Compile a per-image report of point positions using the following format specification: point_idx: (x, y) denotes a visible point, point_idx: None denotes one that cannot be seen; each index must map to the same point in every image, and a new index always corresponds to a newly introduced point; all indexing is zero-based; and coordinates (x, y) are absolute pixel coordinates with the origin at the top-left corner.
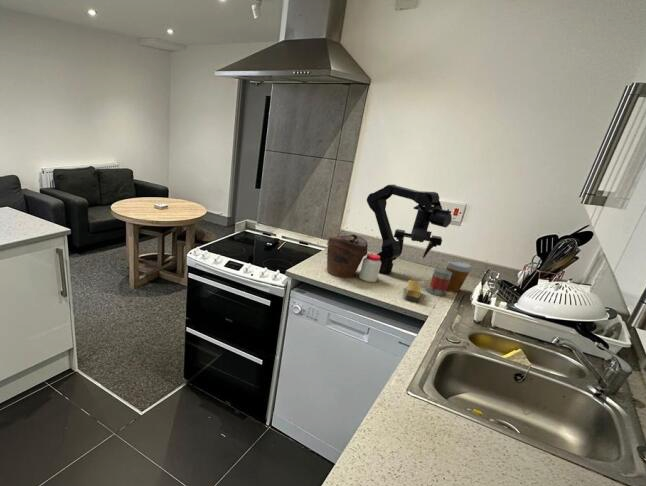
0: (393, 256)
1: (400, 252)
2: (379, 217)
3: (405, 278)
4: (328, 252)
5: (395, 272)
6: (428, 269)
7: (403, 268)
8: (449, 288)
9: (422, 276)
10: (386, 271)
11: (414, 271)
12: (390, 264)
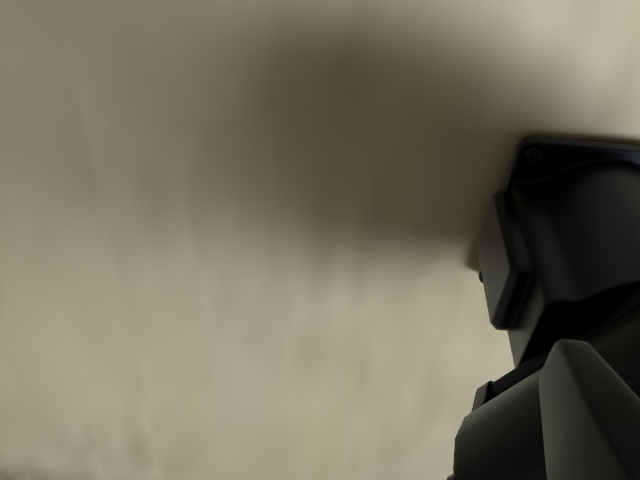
0: (634, 327)
1: (603, 364)
2: None
3: (304, 125)
4: None
5: (414, 266)
6: (122, 452)
7: (321, 397)
8: None
9: (133, 288)
10: (563, 180)
11: (221, 373)
12: (555, 264)
